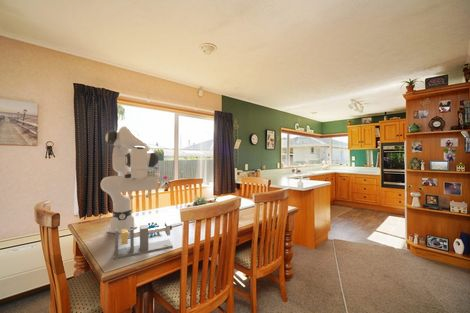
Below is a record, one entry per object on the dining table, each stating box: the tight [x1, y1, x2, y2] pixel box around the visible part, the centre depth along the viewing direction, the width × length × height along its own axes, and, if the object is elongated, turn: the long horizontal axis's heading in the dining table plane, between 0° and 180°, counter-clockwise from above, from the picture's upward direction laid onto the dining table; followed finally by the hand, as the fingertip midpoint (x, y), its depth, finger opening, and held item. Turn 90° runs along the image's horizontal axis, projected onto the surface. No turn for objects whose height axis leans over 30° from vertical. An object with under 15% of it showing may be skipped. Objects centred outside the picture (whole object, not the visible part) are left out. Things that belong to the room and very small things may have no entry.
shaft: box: [118, 220, 173, 240], centre depth 121 cm, size 8×28×6 cm, turn 118°
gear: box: [147, 222, 160, 238], centre depth 143 cm, size 11×6×10 cm
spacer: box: [120, 228, 129, 246], centre depth 116 cm, size 6×3×6 cm, turn 28°
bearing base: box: [113, 224, 174, 260], centre depth 121 cm, size 10×30×14 cm, turn 118°
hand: (139, 198), depth 121 cm, fingers open, 7 cm apart
